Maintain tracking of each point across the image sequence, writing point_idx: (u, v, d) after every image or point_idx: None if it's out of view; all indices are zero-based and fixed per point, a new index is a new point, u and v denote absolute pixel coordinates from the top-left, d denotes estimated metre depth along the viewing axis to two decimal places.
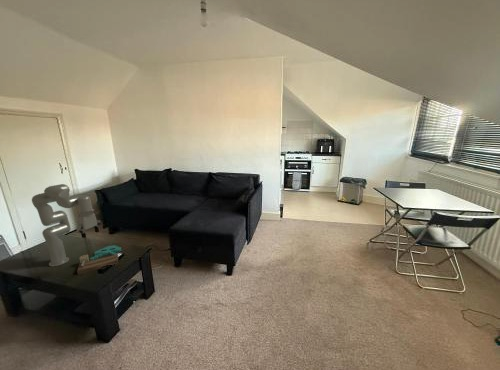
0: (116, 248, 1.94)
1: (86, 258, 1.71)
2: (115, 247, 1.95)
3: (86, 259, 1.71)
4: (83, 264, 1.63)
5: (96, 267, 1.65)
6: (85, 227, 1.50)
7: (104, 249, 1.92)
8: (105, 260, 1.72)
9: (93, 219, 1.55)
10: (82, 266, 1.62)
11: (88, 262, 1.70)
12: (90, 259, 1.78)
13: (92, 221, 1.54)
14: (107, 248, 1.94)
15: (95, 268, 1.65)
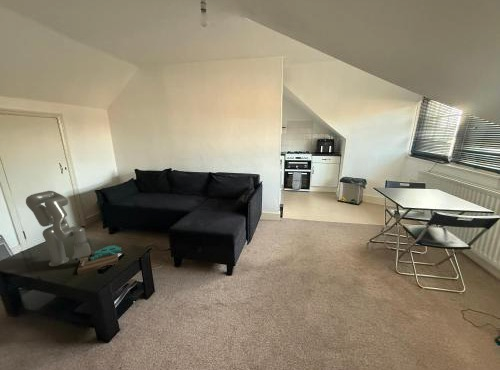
0: (116, 248, 1.94)
1: (86, 258, 1.71)
2: (115, 247, 1.95)
3: (86, 259, 1.71)
4: (83, 264, 1.63)
5: (96, 267, 1.65)
6: None
7: (104, 249, 1.92)
8: (105, 260, 1.72)
9: None
10: (82, 266, 1.62)
11: (88, 262, 1.70)
12: None
13: None
14: (107, 248, 1.94)
15: (95, 268, 1.65)
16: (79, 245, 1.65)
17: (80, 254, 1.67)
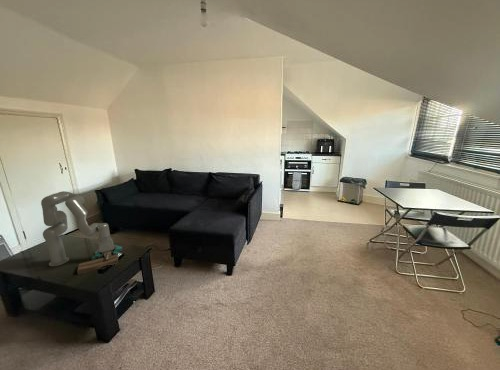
0: (117, 247, 1.95)
1: (109, 252, 1.79)
2: None
3: (109, 253, 1.79)
4: None
5: (96, 267, 1.65)
6: None
7: None
8: (105, 260, 1.72)
9: None
10: (107, 259, 1.70)
11: (88, 262, 1.70)
12: (92, 258, 1.78)
13: None
14: None
15: (95, 268, 1.65)
16: (104, 240, 1.74)
17: (104, 248, 1.76)
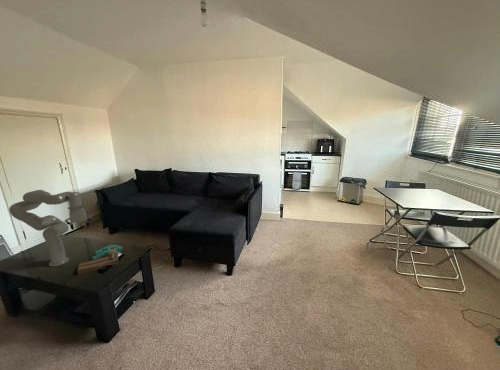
0: (117, 247, 1.96)
1: (115, 251, 1.81)
2: (116, 246, 1.97)
3: (115, 252, 1.81)
4: (113, 256, 1.73)
5: (96, 267, 1.65)
6: None
7: (105, 248, 1.93)
8: (105, 260, 1.72)
9: None
10: (112, 258, 1.72)
11: (88, 262, 1.70)
12: (92, 258, 1.79)
13: None
14: (108, 247, 1.95)
15: (95, 268, 1.65)
16: (74, 209, 1.63)
17: (75, 219, 1.65)
